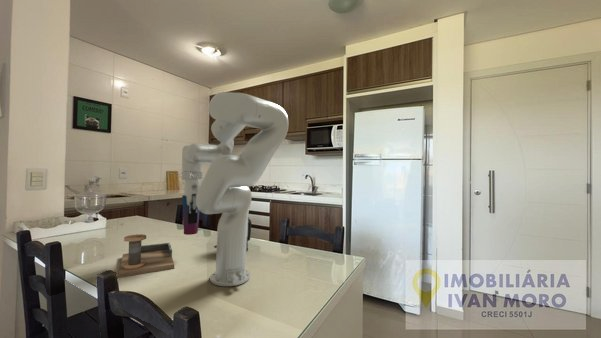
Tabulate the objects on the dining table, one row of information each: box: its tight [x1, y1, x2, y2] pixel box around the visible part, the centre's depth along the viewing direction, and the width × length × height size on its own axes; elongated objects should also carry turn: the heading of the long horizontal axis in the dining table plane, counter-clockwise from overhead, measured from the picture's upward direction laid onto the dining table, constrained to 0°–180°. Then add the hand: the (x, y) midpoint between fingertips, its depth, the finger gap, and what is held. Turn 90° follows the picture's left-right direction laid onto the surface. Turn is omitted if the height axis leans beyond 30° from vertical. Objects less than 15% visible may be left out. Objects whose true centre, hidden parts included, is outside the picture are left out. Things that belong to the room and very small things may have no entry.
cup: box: [181, 194, 201, 236], centre depth 99 cm, size 7×7×15 cm
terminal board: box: [118, 233, 175, 278], centre depth 93 cm, size 20×16×12 cm
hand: (191, 221), depth 99 cm, fingers closed on cup, 6 cm apart
